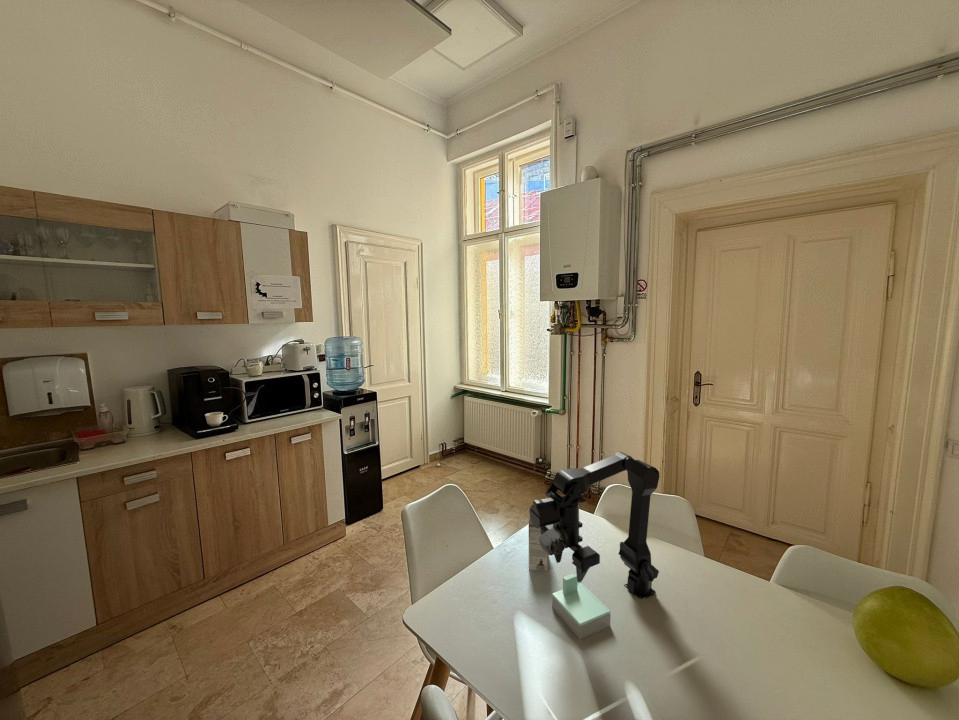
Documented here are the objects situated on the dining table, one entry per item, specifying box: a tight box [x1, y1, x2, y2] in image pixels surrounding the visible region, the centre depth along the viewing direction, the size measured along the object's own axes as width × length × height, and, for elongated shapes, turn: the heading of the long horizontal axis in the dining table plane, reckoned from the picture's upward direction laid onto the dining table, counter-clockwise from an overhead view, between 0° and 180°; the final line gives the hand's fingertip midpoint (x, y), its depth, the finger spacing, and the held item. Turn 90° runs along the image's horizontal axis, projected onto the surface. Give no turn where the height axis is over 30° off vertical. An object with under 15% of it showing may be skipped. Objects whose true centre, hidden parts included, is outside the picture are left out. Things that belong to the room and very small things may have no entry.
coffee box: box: [528, 517, 550, 572], centre depth 130 cm, size 9×6×16 cm
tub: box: [551, 595, 611, 640], centre depth 107 cm, size 10×12×4 cm
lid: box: [551, 573, 611, 626], centre depth 107 cm, size 10×12×5 cm
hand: (568, 571), depth 108 cm, fingers open, 9 cm apart
